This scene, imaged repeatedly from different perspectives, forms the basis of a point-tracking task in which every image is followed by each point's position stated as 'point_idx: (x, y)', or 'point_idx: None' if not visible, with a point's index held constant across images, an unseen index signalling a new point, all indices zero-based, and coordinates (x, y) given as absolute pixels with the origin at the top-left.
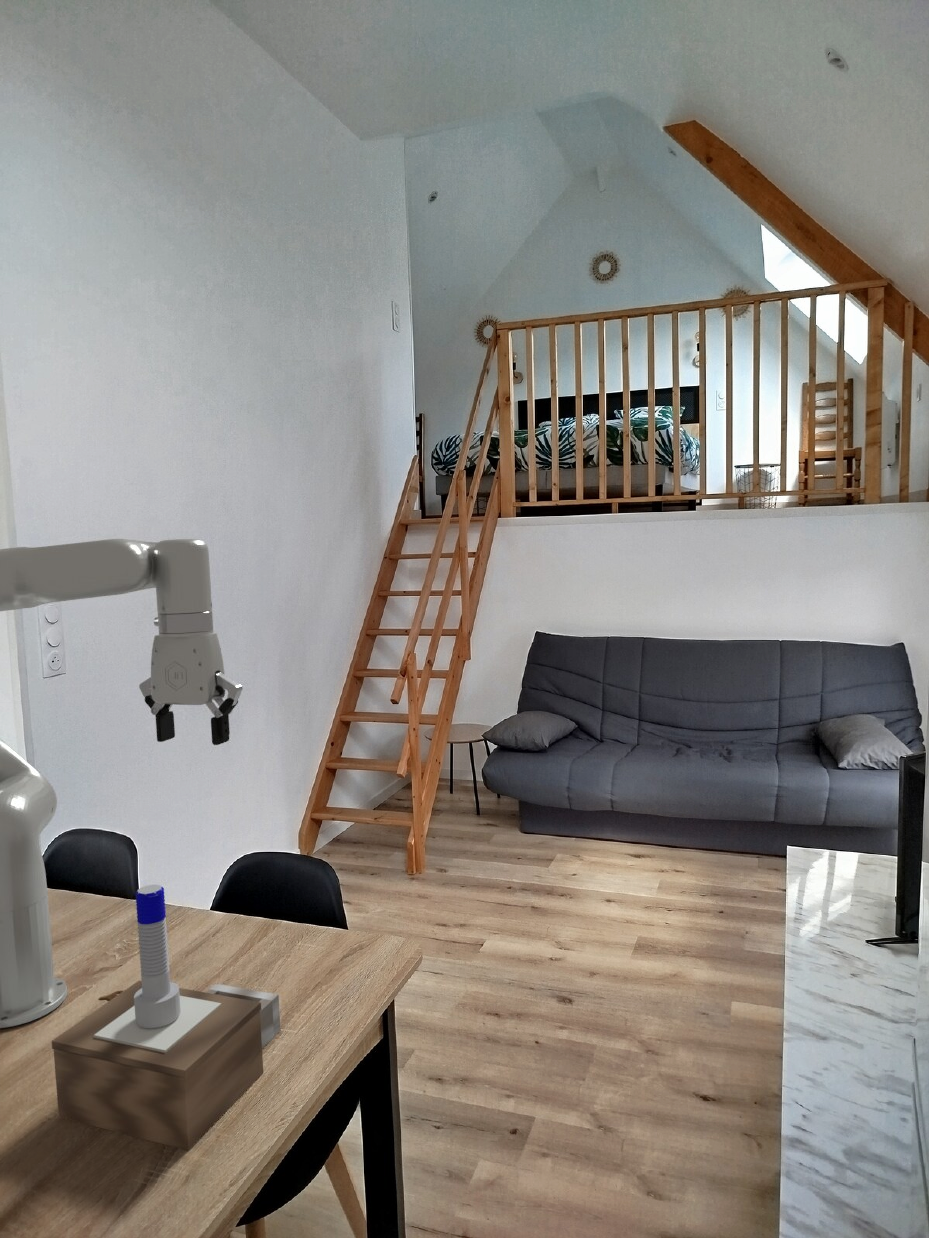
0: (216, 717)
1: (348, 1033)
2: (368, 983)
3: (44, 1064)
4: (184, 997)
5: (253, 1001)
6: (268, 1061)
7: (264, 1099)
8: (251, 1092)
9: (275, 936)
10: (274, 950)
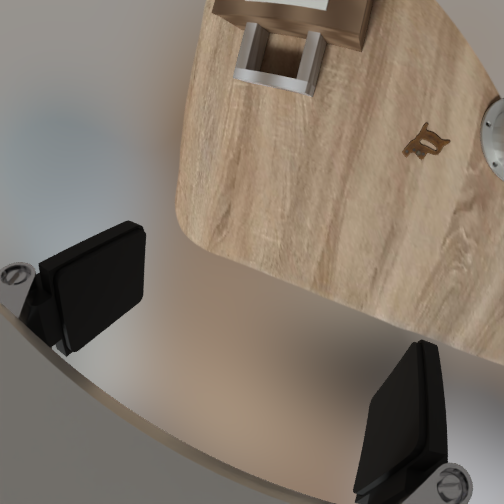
0: (41, 278)
1: (193, 86)
2: (196, 162)
3: (437, 35)
4: (286, 2)
5: (218, 12)
6: None
7: None
8: None
9: (308, 260)
10: (300, 229)
